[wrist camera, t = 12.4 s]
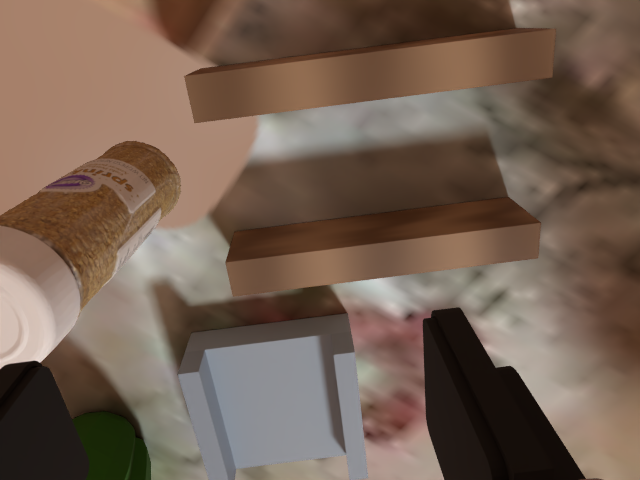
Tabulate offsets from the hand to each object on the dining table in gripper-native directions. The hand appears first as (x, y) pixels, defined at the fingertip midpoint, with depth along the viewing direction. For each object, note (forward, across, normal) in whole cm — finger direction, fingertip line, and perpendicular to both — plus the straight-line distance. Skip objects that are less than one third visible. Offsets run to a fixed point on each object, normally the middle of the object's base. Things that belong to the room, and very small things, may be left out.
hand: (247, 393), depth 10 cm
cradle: (+18, +2, +15) cm, 23 cm away
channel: (+18, -5, 0) cm, 19 cm away
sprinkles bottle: (+18, +7, 0) cm, 19 cm away
